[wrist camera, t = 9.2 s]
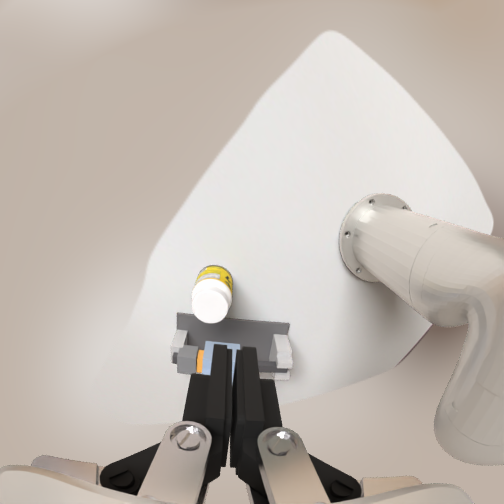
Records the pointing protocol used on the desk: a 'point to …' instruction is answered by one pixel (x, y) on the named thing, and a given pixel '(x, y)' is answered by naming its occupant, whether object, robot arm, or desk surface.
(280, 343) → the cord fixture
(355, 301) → the desk surface
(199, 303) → the supplement bottle
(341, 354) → the desk surface
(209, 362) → the light blue step block
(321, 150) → the desk surface
